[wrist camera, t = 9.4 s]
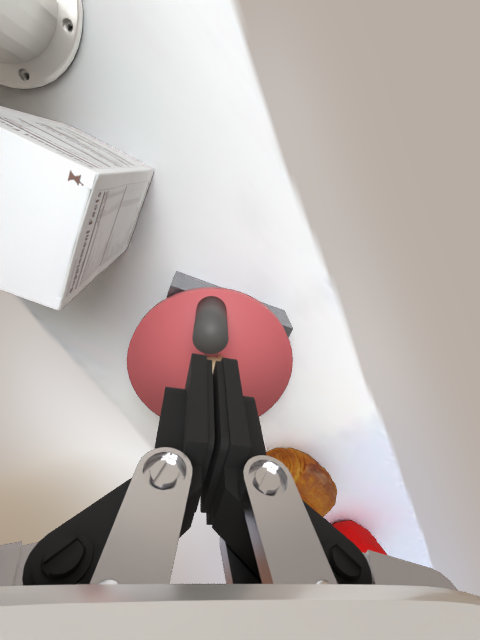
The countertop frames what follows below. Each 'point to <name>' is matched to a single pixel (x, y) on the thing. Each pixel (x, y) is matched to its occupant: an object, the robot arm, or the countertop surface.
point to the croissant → (308, 478)
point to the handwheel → (209, 344)
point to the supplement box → (62, 207)
